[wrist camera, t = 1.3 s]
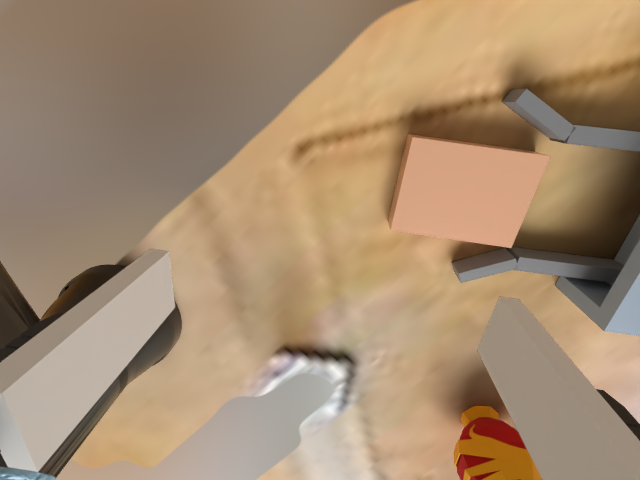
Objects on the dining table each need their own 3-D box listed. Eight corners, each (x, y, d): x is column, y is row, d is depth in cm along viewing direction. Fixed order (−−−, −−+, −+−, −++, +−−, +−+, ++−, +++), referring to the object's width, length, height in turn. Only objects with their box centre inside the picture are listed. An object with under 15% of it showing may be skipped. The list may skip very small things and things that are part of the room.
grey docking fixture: (448, 272, 35) (491, 349, 25) (506, 86, 28) (608, 78, 17) (615, 293, 35) (735, 383, 24) (724, 108, 27) (980, 115, 16)
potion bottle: (534, 406, 43) (620, 551, 29) (491, 449, 47) (547, 592, 33) (465, 382, 42) (519, 517, 28) (427, 427, 46) (458, 564, 33)
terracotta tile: (387, 219, 34) (390, 230, 31) (407, 133, 30) (412, 137, 28) (498, 236, 34) (511, 248, 31) (532, 150, 30) (550, 156, 27)
